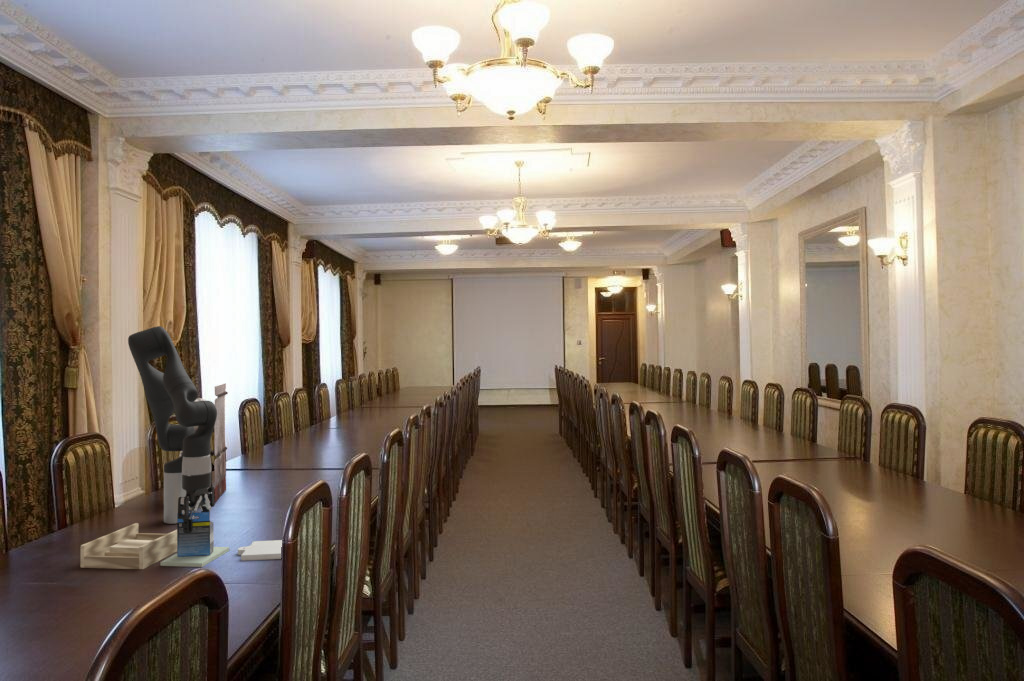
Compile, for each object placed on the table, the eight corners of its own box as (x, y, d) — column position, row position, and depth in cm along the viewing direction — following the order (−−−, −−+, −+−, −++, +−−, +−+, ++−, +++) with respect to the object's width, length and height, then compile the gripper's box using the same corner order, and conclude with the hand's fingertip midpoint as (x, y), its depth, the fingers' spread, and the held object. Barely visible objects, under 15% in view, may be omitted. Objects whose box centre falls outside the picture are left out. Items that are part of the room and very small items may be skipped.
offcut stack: (121, 554, 185) (121, 539, 185) (160, 556, 184) (160, 540, 184) (103, 563, 178) (103, 547, 178) (143, 564, 177) (143, 548, 177)
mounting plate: (231, 562, 178) (231, 555, 178) (244, 548, 191) (244, 541, 191) (298, 559, 181) (298, 552, 181) (306, 545, 193) (306, 538, 193)
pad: (190, 549, 188) (190, 546, 188) (229, 550, 187) (229, 547, 187) (160, 565, 174) (160, 562, 174) (202, 566, 173) (202, 563, 173)
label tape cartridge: (214, 551, 184) (214, 508, 184) (210, 555, 180) (210, 511, 180) (181, 552, 182) (181, 509, 182) (176, 557, 178) (176, 513, 179)
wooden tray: (135, 542, 195) (135, 523, 195) (191, 544, 194) (191, 524, 194) (80, 567, 173) (80, 545, 173) (142, 569, 172) (142, 547, 172)
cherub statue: (178, 494, 261) (178, 384, 261) (227, 491, 266) (227, 383, 266) (164, 507, 239) (164, 387, 239) (218, 504, 244) (218, 386, 244)
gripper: (198, 466, 189) (198, 521, 189) (168, 476, 174) (168, 535, 174) (222, 466, 188) (222, 521, 188) (194, 476, 174) (194, 536, 174)
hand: (196, 528), depth 181 cm, fingers open, 8 cm apart
